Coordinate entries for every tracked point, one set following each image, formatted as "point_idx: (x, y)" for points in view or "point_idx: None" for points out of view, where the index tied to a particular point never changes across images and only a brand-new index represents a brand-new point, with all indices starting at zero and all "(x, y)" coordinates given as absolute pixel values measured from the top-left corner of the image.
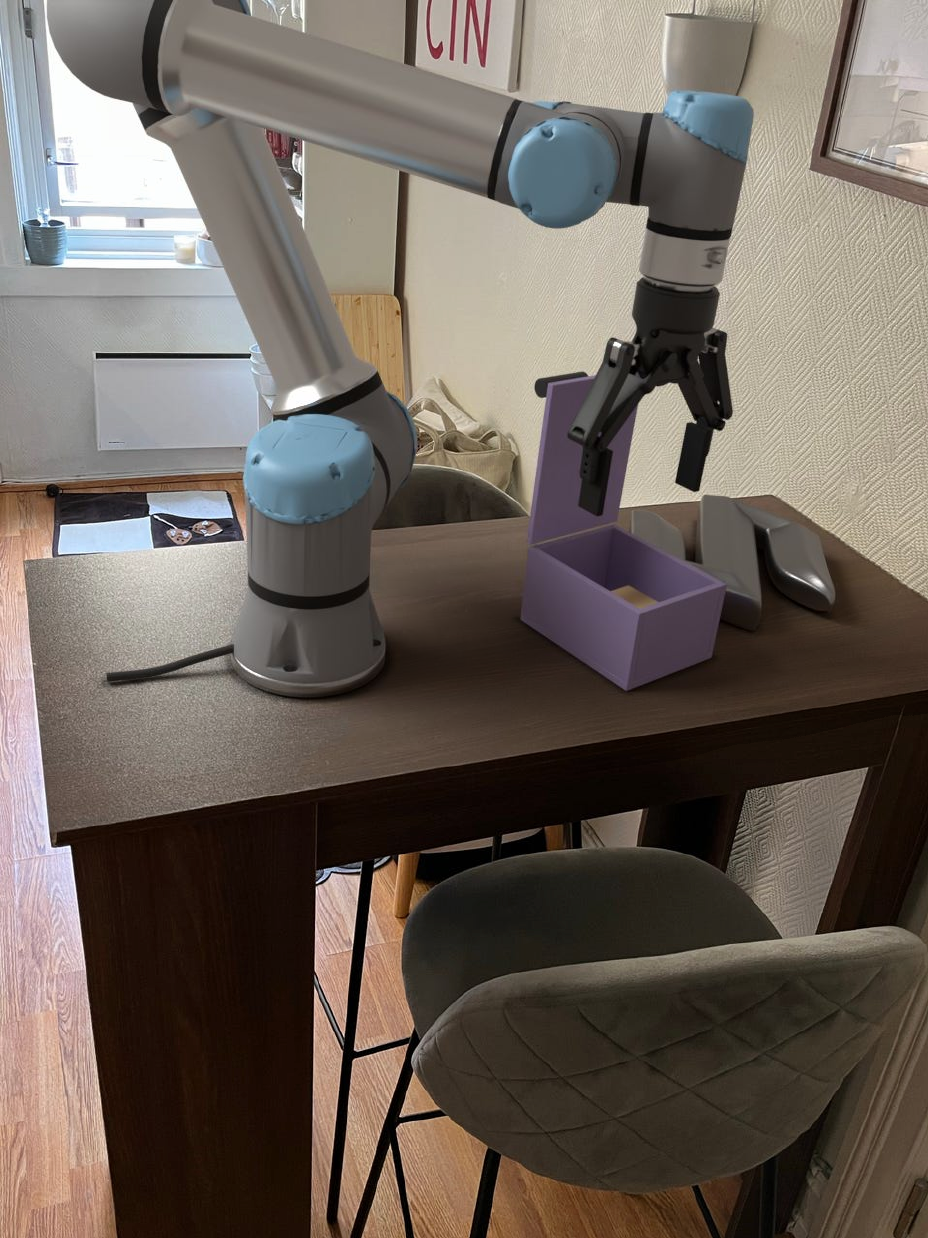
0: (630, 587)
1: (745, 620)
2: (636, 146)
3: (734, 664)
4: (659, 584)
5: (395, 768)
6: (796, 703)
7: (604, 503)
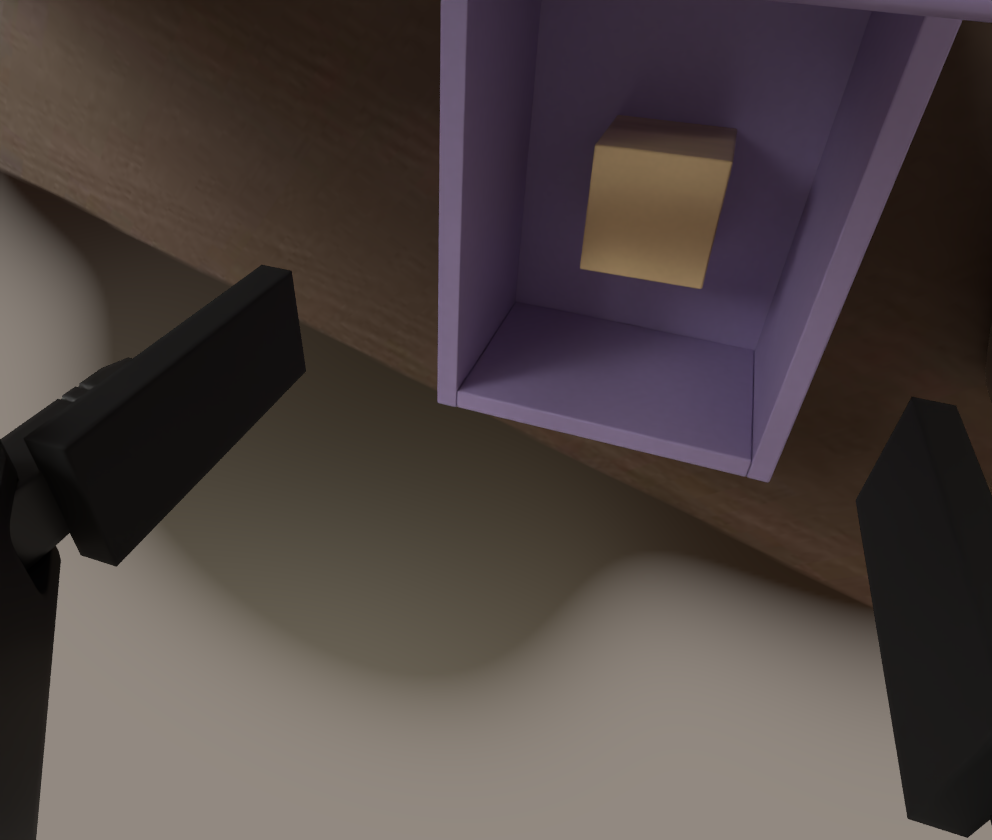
0: (720, 178)
1: (988, 368)
2: None
3: None
4: (818, 226)
5: (54, 186)
6: (726, 524)
7: (278, 398)
